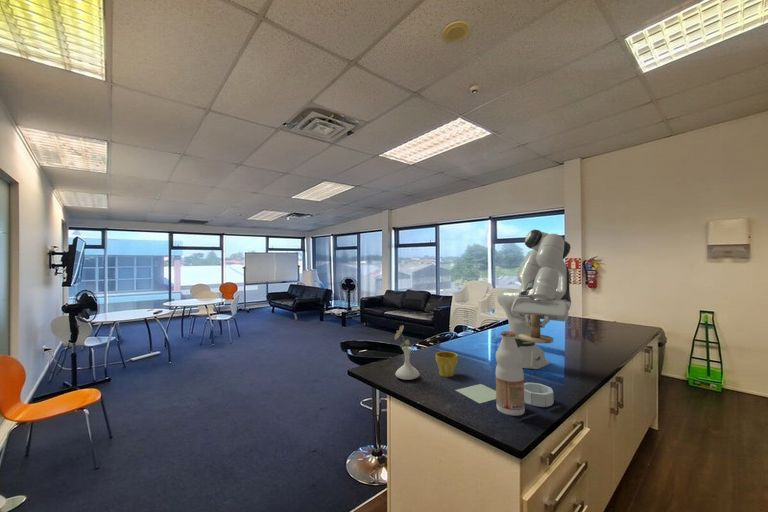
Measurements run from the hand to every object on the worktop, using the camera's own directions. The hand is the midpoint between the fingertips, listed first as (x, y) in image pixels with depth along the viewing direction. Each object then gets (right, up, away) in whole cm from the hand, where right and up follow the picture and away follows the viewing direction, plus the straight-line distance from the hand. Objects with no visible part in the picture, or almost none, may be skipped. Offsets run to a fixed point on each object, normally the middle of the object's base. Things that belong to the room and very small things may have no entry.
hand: (534, 325), depth 116 cm
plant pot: (-27, -30, +30) cm, 51 cm away
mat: (-19, -29, +7) cm, 36 cm away
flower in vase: (-47, -31, +26) cm, 62 cm away
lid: (0, -5, 0) cm, 5 cm away
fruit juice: (-12, -29, -7) cm, 32 cm away
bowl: (+1, -29, 0) cm, 29 cm away
